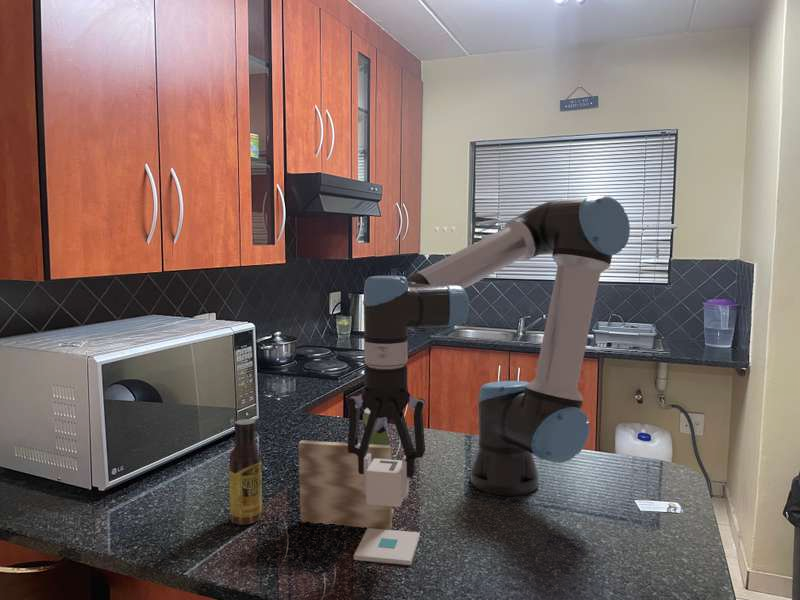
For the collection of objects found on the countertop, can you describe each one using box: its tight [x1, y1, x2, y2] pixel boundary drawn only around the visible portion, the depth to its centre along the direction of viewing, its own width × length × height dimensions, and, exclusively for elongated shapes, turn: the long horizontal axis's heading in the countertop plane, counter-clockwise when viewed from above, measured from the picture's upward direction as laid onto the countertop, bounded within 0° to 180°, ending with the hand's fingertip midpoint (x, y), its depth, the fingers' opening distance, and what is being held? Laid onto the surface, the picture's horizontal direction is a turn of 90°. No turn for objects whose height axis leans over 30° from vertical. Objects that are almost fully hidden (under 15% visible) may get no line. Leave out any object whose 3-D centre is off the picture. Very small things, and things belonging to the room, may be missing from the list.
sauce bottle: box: [228, 418, 263, 526], centre depth 118 cm, size 6×6×20 cm
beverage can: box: [362, 407, 391, 445], centre depth 155 cm, size 6×7×12 cm
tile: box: [353, 528, 421, 566], centre depth 107 cm, size 10×10×1 cm
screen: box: [298, 439, 395, 530], centre depth 118 cm, size 18×6×16 cm, turn 79°
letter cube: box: [366, 458, 405, 508], centre depth 106 cm, size 6×6×6 cm
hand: (386, 492), depth 106 cm, fingers closed on letter cube, 6 cm apart
